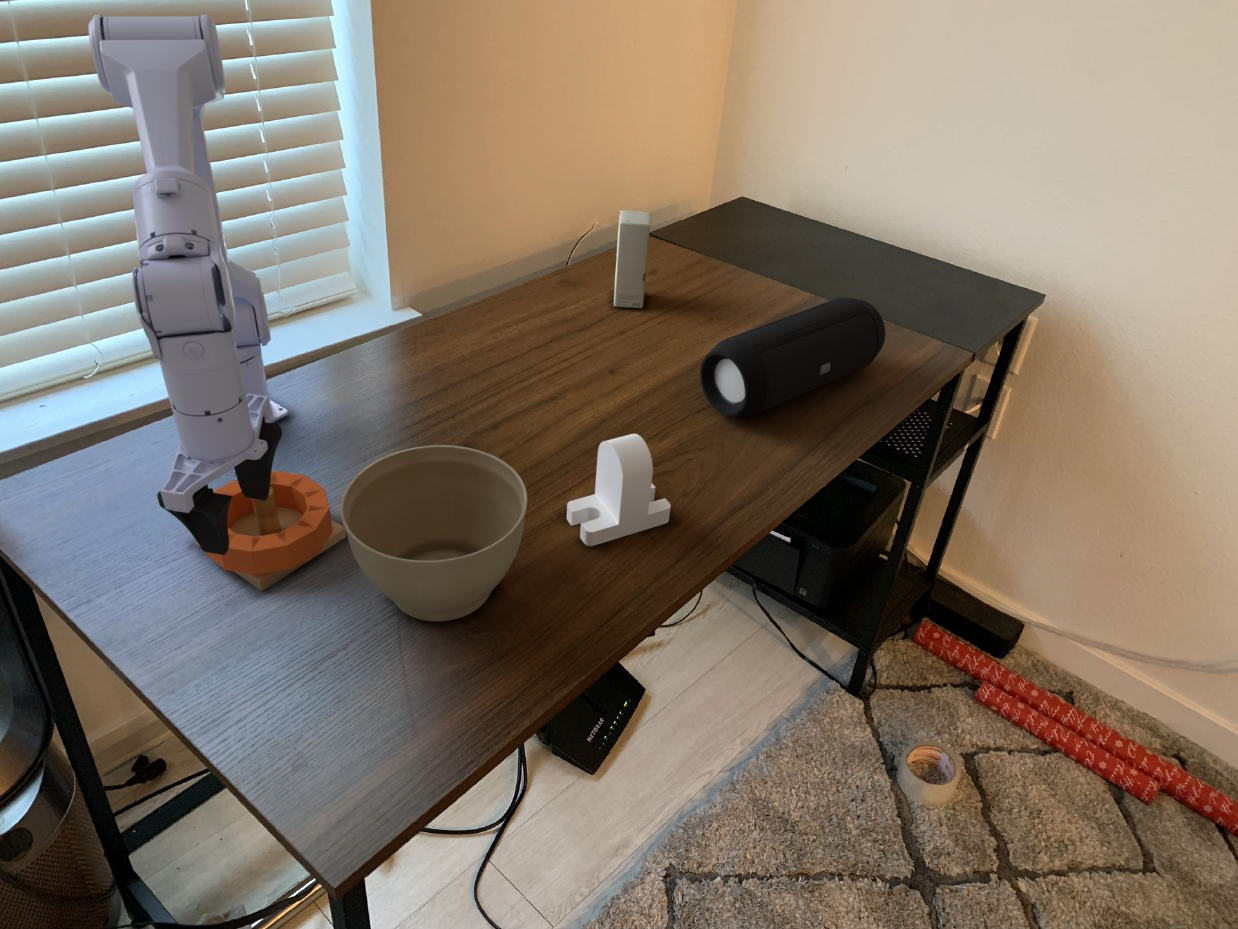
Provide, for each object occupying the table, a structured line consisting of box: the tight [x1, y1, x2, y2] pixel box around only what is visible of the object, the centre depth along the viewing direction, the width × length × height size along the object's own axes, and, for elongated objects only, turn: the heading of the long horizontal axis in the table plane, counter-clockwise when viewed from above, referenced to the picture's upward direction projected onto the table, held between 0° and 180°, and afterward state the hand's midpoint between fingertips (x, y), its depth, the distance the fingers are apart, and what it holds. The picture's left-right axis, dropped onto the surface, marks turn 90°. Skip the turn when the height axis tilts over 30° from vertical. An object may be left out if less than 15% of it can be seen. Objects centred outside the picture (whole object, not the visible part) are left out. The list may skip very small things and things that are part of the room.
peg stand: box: [193, 487, 347, 592], centre depth 91 cm, size 10×10×6 cm
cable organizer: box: [566, 433, 671, 547], centre depth 96 cm, size 5×10×10 cm, turn 119°
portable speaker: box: [699, 296, 886, 418], centre depth 119 cm, size 26×10×10 cm, turn 129°
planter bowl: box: [339, 444, 528, 622], centre depth 86 cm, size 16×16×11 cm
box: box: [613, 209, 651, 309], centre depth 135 cm, size 5×4×13 cm
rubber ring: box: [205, 470, 333, 575], centre depth 91 cm, size 12×12×3 cm
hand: (237, 522), depth 85 cm, fingers open, 7 cm apart
